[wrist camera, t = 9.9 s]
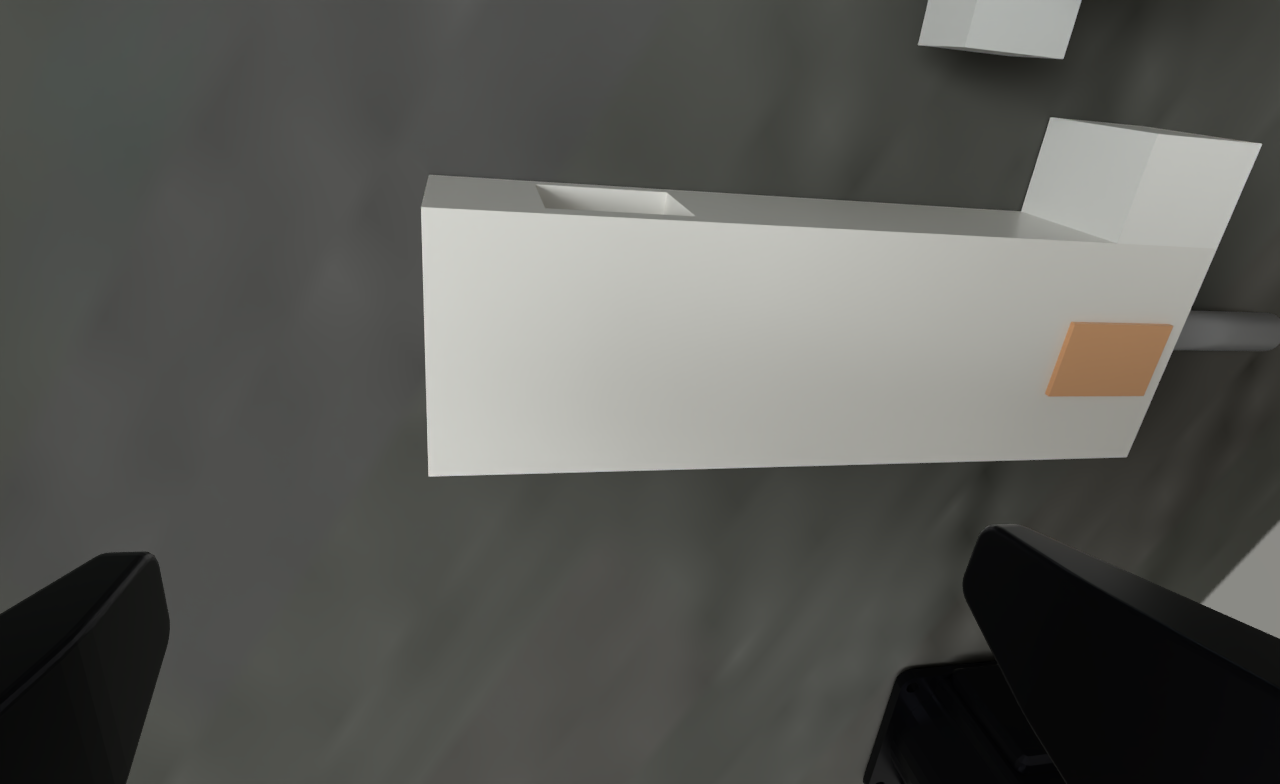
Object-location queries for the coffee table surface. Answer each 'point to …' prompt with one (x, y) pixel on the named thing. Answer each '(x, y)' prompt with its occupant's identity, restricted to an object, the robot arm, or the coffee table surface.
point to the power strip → (823, 315)
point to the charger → (1001, 26)
